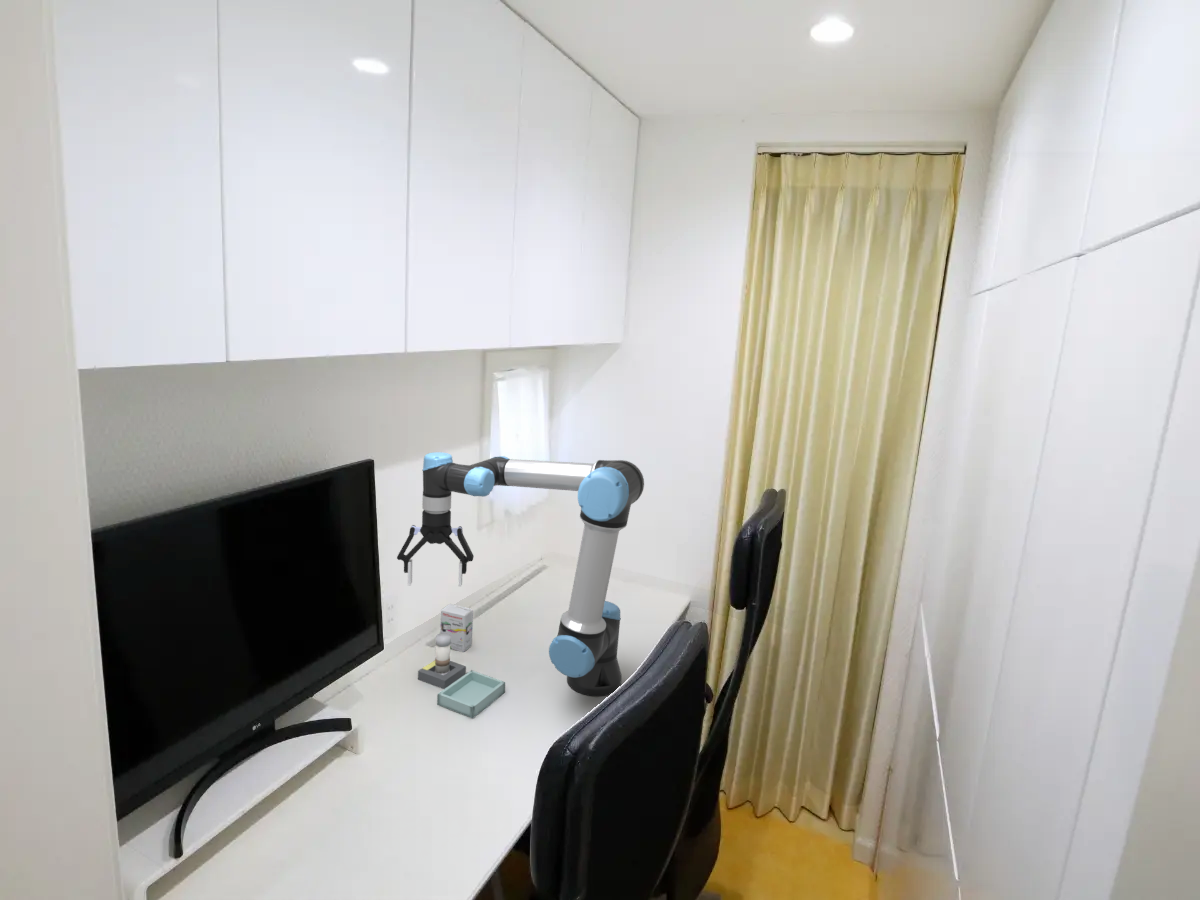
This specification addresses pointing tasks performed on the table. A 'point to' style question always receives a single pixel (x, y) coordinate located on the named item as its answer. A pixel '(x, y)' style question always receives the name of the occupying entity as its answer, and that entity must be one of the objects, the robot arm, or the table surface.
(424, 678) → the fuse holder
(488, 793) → the table surface
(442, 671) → the grey-white banded cylinder
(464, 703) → the parts tray
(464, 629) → the ink box
